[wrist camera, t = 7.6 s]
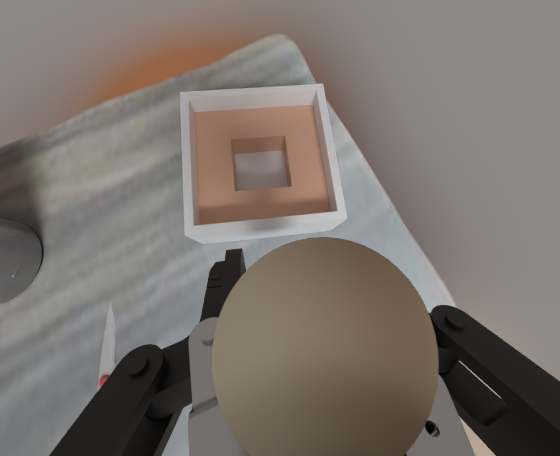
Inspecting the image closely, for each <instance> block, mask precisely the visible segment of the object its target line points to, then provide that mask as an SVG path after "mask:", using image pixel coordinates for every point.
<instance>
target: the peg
mask: <svg viewBox="0 0 560 456" xmlns="http://www.w3.org/2000/svg"><path fill="white" fill-rule="evenodd" d="M438 369H439V361H438V348H437V342H436V336H435V332H434V328H433V325H432V322H431V318H430V316H429V314H428V311H427V309H426V306H425V304H424V302H423V301H422V299H421V297H420V295H419V294H418V292H417V290H416V289H415V288H414V286H413V285H412V283H411V282H410V281H409V279H408V278H407V277H406V276H405V275H404V274H403V273H402V272H401V271H400V270H399V269H398V268H397V267H396V266H395V265H394V264H393V263H391V262H390V261H389V260H388V259H386V258H385V257H383V256H382V255H380V254H379V253H377V252H376V251H374V250H372V249H370V248H368V247H366V246H364V245H361V244H358V243H355V242H352V241H348V240H344V239H339V238H329V237H318V238H308V239H302V240H297V241H294V242H291V243H288V244H285V245H283V246H281V247H279V248H277V249H274V250H272V251H271V252H269V253H268V254H266V255H265V256H263V257H262V258H260V259H259V260H258V261H257V262H255V263H254V264H253V265H252V266H251V267H250V268H249V269H248V270H247V271H246V272H245V273H244V274H243V275H242V276H241V278H240V279H239V280H238V282H237V283H236V284H235V286H234V287H233V289H232V290H231V292H230V294H229V295H228V297H227V299H226V301H225V303H224V305H223V308H222V310H221V313H220V315H219V318H218V321H217V325H216V329H215V333H214V339H213V347H212V374H213V382H214V388H215V392H216V396H217V400H218V404H219V406H220V409H221V411H222V414H223V416H224V419H225V421H226V423H227V424H228V426H229V428H230V430H231V432H232V434H233V435H234V437H235V438H236V439H237V441H238V442H239V443H240V445H241V446H242V447H243V449H244V450H245V451H246V452H247V453H248V454H249V455H250V456H404V455H405V454H406V452H407V451H408V450H409V449H410V448H411V446H412V445H413V444H414V443H415V441H416V440H417V438H418V436H419V435H420V433H421V431H422V430H423V428H424V426H425V424H426V421H427V419H428V417H429V415H430V412H431V409H432V406H433V402H434V399H435V395H436V389H437V383H438Z"/></svg>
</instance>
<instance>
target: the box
mask: <svg viewBox="0 0 560 456" xmlns="http://www.w3.org/2000/svg"><path fill="white" fill-rule="evenodd" d="M180 111H181V140H182V170H183V199H184V229H185V236H187V237H189V238H191V239H194V240H196V241H198V242H200V243H202V244H210V243H219V242H229V241H238V240H247V239H257V238H266V237H275V236H285V235H294V234H303V233H313V232H322V231H330V230H332V229H333V228H335V227H336V226H337V225H339V224H340V223H342V222H343V221H345V220H346V219H347V214H346V208H345V203H344V197H343V192H342V186H341V181H340V175H339V170H338V164H337V159H336V153H335V148H334V142H333V136H332V131H331V125H330V120H329V114H328V109H327V103H326V98H325V93H324V87H323V84H309V85H292V86H275V87H258V88H240V89H223V90H206V91H189V92H180Z"/></svg>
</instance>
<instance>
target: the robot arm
mask: <svg viewBox="0 0 560 456" xmlns="http://www.w3.org/2000/svg"><path fill="white" fill-rule="evenodd" d="M41 258H42V248H41V244H40V241H39V239H38V237H37V235H36V233H35V232H34V231H33V230H32V229H31V228H29V227H28V226H26V225H24V224H23V223H19V222H16V221H12V220H7V219H2V218H0V303H4V302H6V301H8V300H10V299H12V298H14V297H16V296H17V295H18V294H20V293H21V292H22V291H23V290H24V289H25V288H26V287H27V286H28V285H29V284H30V283H31V282H32V280H33V279H34V277H35V276H36V274H37V271H38V269H39V267H40V263H41ZM245 272H246V268H245V262H244V256H243V251H242V248H241V249H232V250H226V255H225V261H221V262H216V263H215V264H214V265H213V267H212V268H211V270H210V272H209V278H208V283H207V289H206V293H205V299H204V304H203V309H202V314H201V319H200V322H199V324H197V325H196V326H195V328H194V329H193V330H192V332H191V334H190V335H189V336H188V337H187V338H185V339H184V340H182V341H180V342H178V343H175V344H173V345H171V346H169V347H166V348H164V349H162V350H161V349H160V348H159V347H158V346H156V345H152V344H148V345H143V346H140V347H138V348H136V349H134V350H132V351H131V352H129V353H128V354H127V355H126V356H125V357H124V358H123V359H122V360H121V361H120V363H119V364H118V365H117V366H116V368H115V369H114V370H113V372H112V373H111V374H110V376H109V377H108V378H107V380H106V381H105V382H104V384H103V385H102V386H101V388H100V389H99V390H98V392H97V393H96V394H95V396H94V397H93V398H92V400H91V401H90V402H89V404H88V405H87V406H86V408H85V409H84V410H83V412H82V413H81V414H80V416H79V417H78V418H77V420H76V421H75V422H74V424H73V425H72V426H71V428H70V429H69V430H68V431H67V433H66V434H65V435H64V437H63V438H62V439H61V441H60V442H59V443H58V445H57V446H56V447H55V449H54V450H53V451H52V453H51V454H50V455H49V456H161V455H162V453H163V451H164V449H165V446H166V444H167V442H168V440H169V438H170V436H171V433H172V431H173V429H174V427H175V425H176V422H177V420H178V418H179V416H180V414H181V412H182V409H183V408H184V407H185V406H187V405H189V404H191V403H192V410H191V412H190V413H189V419H188V436H189V456H250V455H249V454H248V453H247V452H246V451H245V450H244V449H243V447H242V446H241V445H240V443H239V442H238V441H237V439H236V438H235V437H234V435H233V434H232V432H231V430H230V428H229V426H228V424H227V423H226V421H225V419H224V416H223V414H222V411H221V409H220V406H219V404H218V400H217V396H216V392H215V388H214V382H213V374H212V347H213V339H214V333H215V329H216V325H217V321H218V318H219V315H220V313H221V310H222V308H223V305H224V303H225V301H226V299H227V297H228V295H229V294H230V292H231V290H232V289H233V287H234V286H235V284H236V283H237V282H238V280H239V279H240V278H241V276H242V275H243V274H244V273H245ZM428 314H429V316H430V318H431V322H432V325H433V328H434V332H435V336H436V342H437V348H438V361H439V369H438V383H437V389H436V395H435V399H434V402H433V406H432V409H431V412H430V415H429V417H428V419H427V421H426V424H425V426H424V428H423V430H422V431H421V433H420V435H419V436H418V438H417V440H416V441H415V443H414V444H413V445H412V446H411V448H410V449H409V450H408V451H407V452H406V454H405V455H404V456H475V454H474V452H473V449H472V447H471V444H470V442H469V440H468V437H467V435H466V432H465V430H464V428H463V425H462V423H461V420H460V418H459V416H460V417H461V418H462V420H463V421H464V422H465V423H466V424H467V425H468V426H469V427H470V428H471V429H472V430H473V431H474V433H476V435H477V436H478V437H479V438H480V439H481V440H482V441H483V442H484V443H485V444H486V445H487V447H488V448H490V450H491V451H492V452H493V453H494V454H495V455H496V456H560V381H558V380H557V379H556V378H554V377H553V376H552V375H550V374H549V373H547V372H546V371H545V370H543V369H542V368H541V367H539V366H538V365H536V364H535V363H534V362H532V361H531V360H530V359H528V358H527V357H525V356H524V355H522V354H521V353H520V352H518V351H517V350H516V349H514V348H513V347H512V346H510V345H509V344H508V343H506V342H505V341H503V340H502V339H501V338H499V337H498V336H497V335H495V334H494V333H492V332H491V331H490V330H488V329H487V328H486V327H484V326H483V325H481V324H480V323H479V322H477V321H476V320H474V319H473V318H472V317H470V316H469V315H468V314H466V313H465V312H463V311H461V310H460V309H457V308H455V307H452V306H448V305H439V306H436V307H435V308H433V310H432V311H431V313H428ZM459 361H461V362H462V363H463V364H465V365H466V366H467V367H468V368H469V369H470V370H471V371H472V372H473V373H475V374H476V375H477V376H478V377H479V378H480V379H481V380H482V381H483V382H485V383H486V384H487V385H488V386H489V387H490V388H491V389H492V390H494V391H495V392H496V393H497V394H498V395H499V396H500V397H501V398H502V399H501V398H499V397H498V396H497V395H496V394H494V393H493V392H492V391H491V390H490V389H489V388H488V387H487V386H486V385H484V384H483V383H482V382H481V381H480V380H479V379H478V378H477V377H475V376H474V375H473V374H472V373H471V372H470V371H469V370H468V369H467V368H466V367H464V366H463V365H462V364H461V363H460V362H459Z"/></svg>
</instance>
